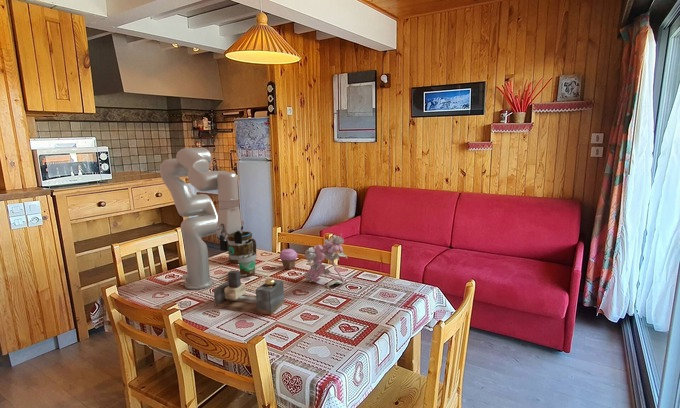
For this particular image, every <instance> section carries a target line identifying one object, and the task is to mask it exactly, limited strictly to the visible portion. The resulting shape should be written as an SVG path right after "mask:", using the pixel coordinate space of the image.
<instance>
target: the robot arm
mask: <svg viewBox="0 0 680 408" xmlns="http://www.w3.org/2000/svg"><path fill="white" fill-rule="evenodd" d="M175 155H176V156H175V158H169V159H165V160H163V161H162V162H161V163H160V166H159V172H160V173H159V174H160V177H161V179H162V182H163V183H164V185H165V187H166V188H167V190H168V191H169V192H170V194H171V198H172V200H173V203H174V206H175V208H176V210H177V213H178V214H179V216H181V217H182V218H186V219H184V220H182V222H181V223H180V232H181V235H182V240H183V244H184V252H185V263H186V273H183V275H182V277H181V280H184V281H185V282H184V287H185V289H187V290H192V291H193V290H202V289H206V288H209V287H211V286H213V284H214V281H215V280H214V279H213V278H212V277H211V274H210V263H209V251H208V245H207V244H206V242H205V241H203V239H202V238H204V237H208V236H213V235H216V238H217V239H218V241H219V249H220V251H222V252H223V251H224V252H226V251H228V239H227V237H228V235H230V234H232V233H236V234H234V238H235V243H236V244H242V233H243V232H242V231H243V229H244V223H245V222H244V221H243V220H242V215H241V211H240V210H241V209H240V199H239V185H238V183H239V182H238V174H237V173H236V172H232V171H227V170H212V171H209V170H210V165H211V163H212V154H211V151H209V149H207V148H205V147H184V148H181V149H179V150H178V151H177V153H176V154H175ZM181 177H187V179H188V181H189V184H190V185H191V186H192V187H193V188H195V189H196V190H198V191H199V192H210V191H211V192H213V191H217V198H218V210H217V209H216V207H215V204H214V202H213V200H212V198H211V197H210V196H209V195H208V194H205V193H204V194H203V193H201V194H193V193H192V190H191V187H190V186H189V184H188V183H186V181H185V180H182V179H181Z"/></svg>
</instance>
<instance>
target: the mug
mask: <svg viewBox="0 0 680 408" xmlns="http://www.w3.org/2000/svg"><path fill="white" fill-rule="evenodd" d="M242 232H243V233H242V244H236V243H235V238H234V234H236V233H232V234H230V235H228V237H227V240H228V263H231V265H237V264H239V263H238V258H242V257H243V256H245V255H247V254H248V252H254V253H255V254H256V255H257V241H256V240H255V239H254V238H253V233H252V232H251V231H245V230H244V231H243V230H242Z"/></svg>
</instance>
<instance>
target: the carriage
mask: <svg viewBox="0 0 680 408" xmlns="http://www.w3.org/2000/svg"><path fill="white" fill-rule="evenodd" d="M227 278H228V279H227V281H228V283H229V286H228V287H226V288H225V289H224V291H225V298H227V299H235V300H236V299H238V298H239V297H240V296H242V295H243V294H244V295H246V283H242V281H241V280H242V279H241V277H240V270H232V269H231V270H229V271H227Z"/></svg>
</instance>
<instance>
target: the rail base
mask: <svg viewBox="0 0 680 408" xmlns="http://www.w3.org/2000/svg"><path fill="white" fill-rule="evenodd" d="M274 282H275V284H274V285H273V287H267V286H266V285H265V282H264V283H263V284H262V285H260V286H259V287H257V288H256V289H255V295H251V294H243V295H242V296H240V297H239V298H238V299H236V300H235V299H227V298H225V291H224V289H225V288H226V287H228V286H229V283H228V280H227V281H225V282H224V283H222V284H220V285H218V286H217V287H215V288H213V296H214V297H213V299H214V307H215V308H217V309H218V308H219V309H226V310H232V311H233V310H234V311H240V312H241V311H242V312H248V313H256V314H260V315H261V314H262V315H271V316H272V315H273V314H274V313H275V312H277V310H278V309H280V308H281V307H282V306H283V305H284V304H285V290H284V289H285V288H284V287H285V286H284V280H281V279H274Z"/></svg>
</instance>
